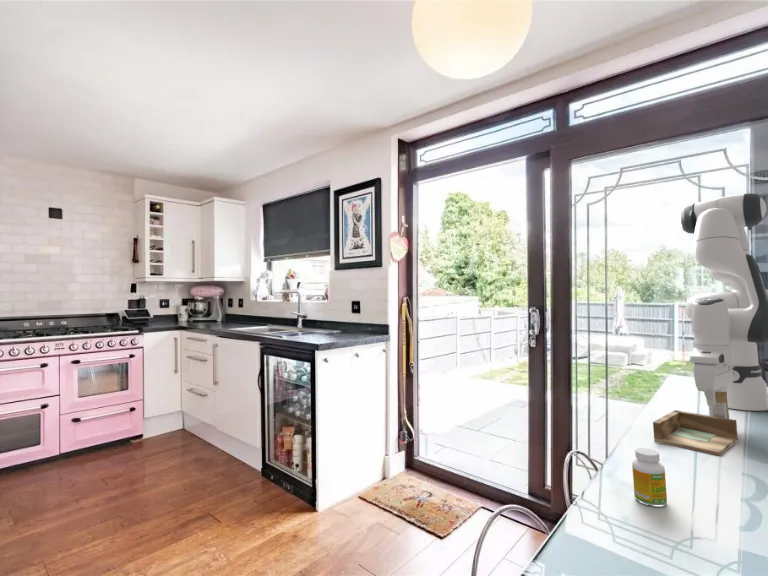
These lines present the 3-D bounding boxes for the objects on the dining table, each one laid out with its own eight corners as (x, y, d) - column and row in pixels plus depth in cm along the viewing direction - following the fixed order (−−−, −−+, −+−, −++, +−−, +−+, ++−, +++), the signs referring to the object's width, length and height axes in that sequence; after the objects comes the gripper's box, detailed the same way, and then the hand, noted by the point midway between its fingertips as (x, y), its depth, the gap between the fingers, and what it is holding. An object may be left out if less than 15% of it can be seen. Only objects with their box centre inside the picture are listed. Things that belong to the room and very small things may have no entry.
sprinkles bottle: (733, 431, 113) (729, 383, 114) (727, 434, 111) (723, 386, 111) (713, 427, 117) (709, 381, 117) (707, 430, 115) (703, 383, 115)
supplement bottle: (655, 510, 75) (651, 458, 75) (628, 498, 80) (624, 449, 80) (673, 503, 77) (669, 453, 78) (645, 492, 82) (642, 444, 82)
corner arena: (676, 427, 118) (675, 410, 118) (737, 439, 107) (736, 420, 107) (654, 441, 109) (652, 422, 109) (719, 455, 98) (717, 434, 98)
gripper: (711, 350, 123) (715, 395, 122) (687, 357, 111) (691, 407, 110) (738, 351, 118) (742, 398, 117) (715, 359, 106) (720, 411, 105)
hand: (717, 403), depth 114 cm, fingers open, 8 cm apart
